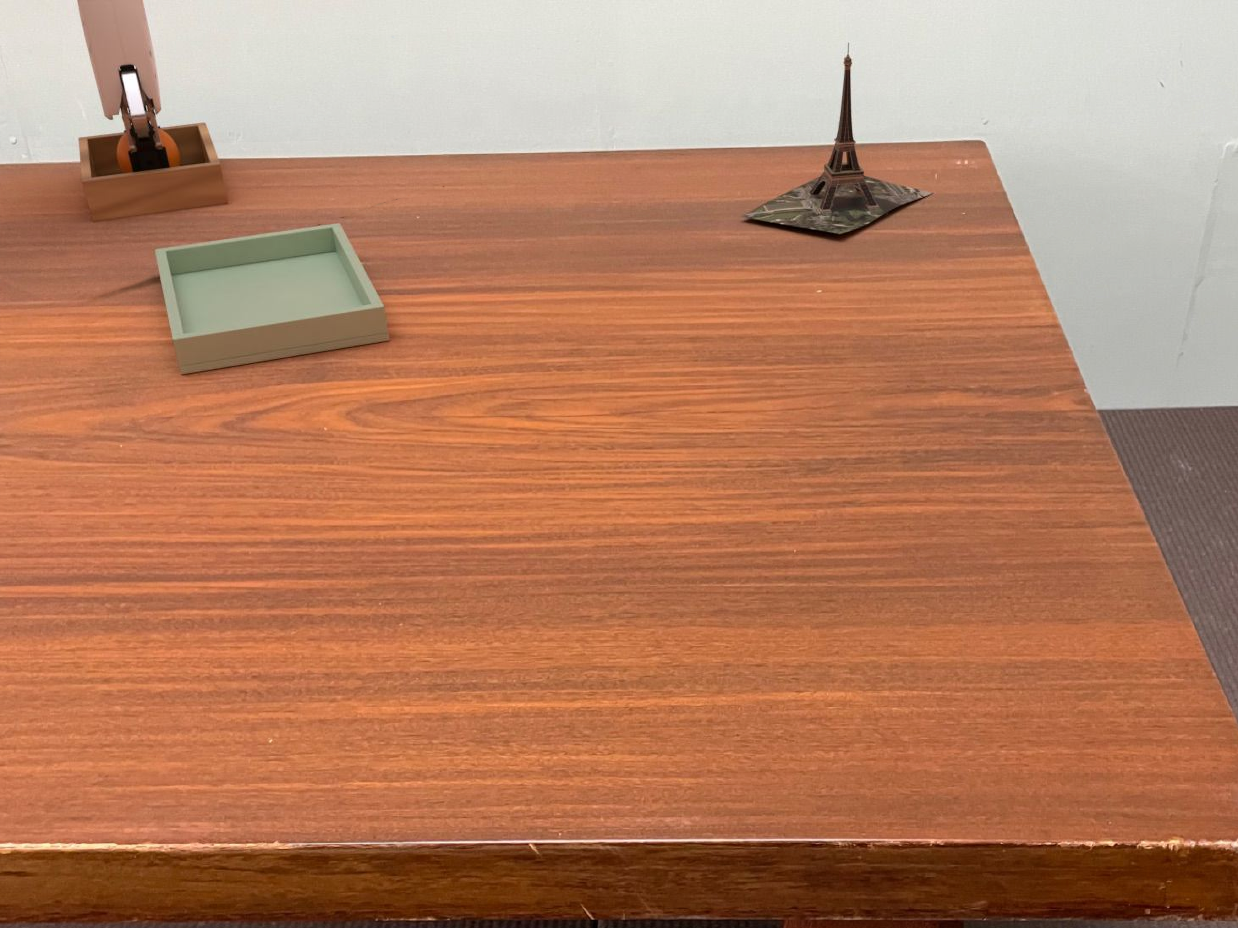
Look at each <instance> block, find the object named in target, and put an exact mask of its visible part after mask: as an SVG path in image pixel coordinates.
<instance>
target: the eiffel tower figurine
mask: <svg viewBox="0 0 1238 928" xmlns="http://www.w3.org/2000/svg"><path fill="white" fill-rule="evenodd" d="M849 51H850V43H849V42H847V54H846V56H845V57H844V58H843V65H844V71H843V72H844V73H843V84H842V94H841V103H840V113H839V114H840V115H839V121H838V129H837V133H836V137H835V138H834V140H833V141H834V146H833V149H832V152H831V155H830V157H829V160H828V163H824V164H823V172H822V173H821V175H820V176H817V177H815V178H814V179H811V180H810V181H808V182H806V183H804V184H802V185H799V186H797V187H795V188H793V189H790V190H789V191H787V192H785V193H782V194H781V195H778V196H777V197H775V198H773V199H771V200H769V201H767V202H765V203H763V204H761V205H759V206H758V207H755V208H754V209H752V210H751V211H749V212H747V213H745V214H742V215H741V217H743V218H747V219H753V220H758V221H761V222H769V223H775V224H780V225H786V226H791V227H798V228H803V229H809V230H816V231H822V232H828V233H833V234H838V235H841V234H845V233H848V232H851V231H854V230H856V229H859V228H863V227H865V226H866V225H868V224H870V223H872V222H873V221H875V220H877V219H879V218H880V217H881V216H883V215H888V214H889V212H890V211H892V210H894V209H896V208H898V207H900V206H902V205H905V204H908V203H911V202H914V201H916V200H919V199H921V198H924V197H927V196H929V195H932V194H933V192H931V191H927V190H923V189H918V188H914V187H909V186H906V185H901V184H896V183H892V182H888V181H884V180H881V179H878V178H874V177H871V176H867V175H865V171H864V169H863V168H862V167H861V166H860V163H859V160H858V156H857V151H856V147H855V145H856V143H857V141H856V140H855V139H854V134H853V119H852V117H853V115H852V84H851V83H852V82H851V81H852V79H851V73H852V71H851V69H852V68H851V67H852V65H853V61H852V60H853V59H852V58H851V56H850V54H849ZM844 153H845V155H846V157H845V158H846V161H845V162H843V159H844Z"/></svg>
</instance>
